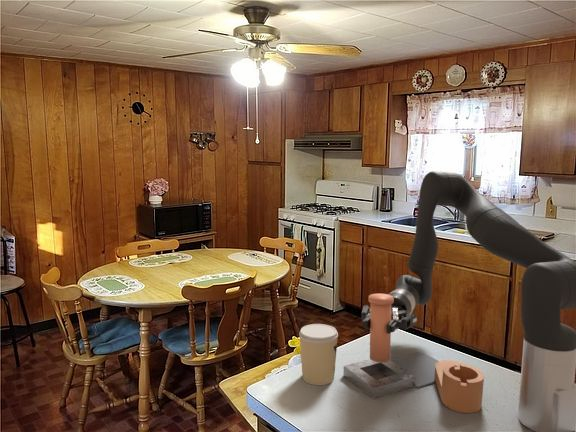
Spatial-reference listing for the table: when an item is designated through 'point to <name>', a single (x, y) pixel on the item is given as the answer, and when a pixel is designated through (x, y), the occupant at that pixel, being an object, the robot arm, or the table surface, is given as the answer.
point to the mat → (418, 367)
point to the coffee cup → (318, 353)
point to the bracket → (459, 386)
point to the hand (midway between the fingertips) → (377, 327)
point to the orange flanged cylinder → (380, 326)
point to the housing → (384, 386)
